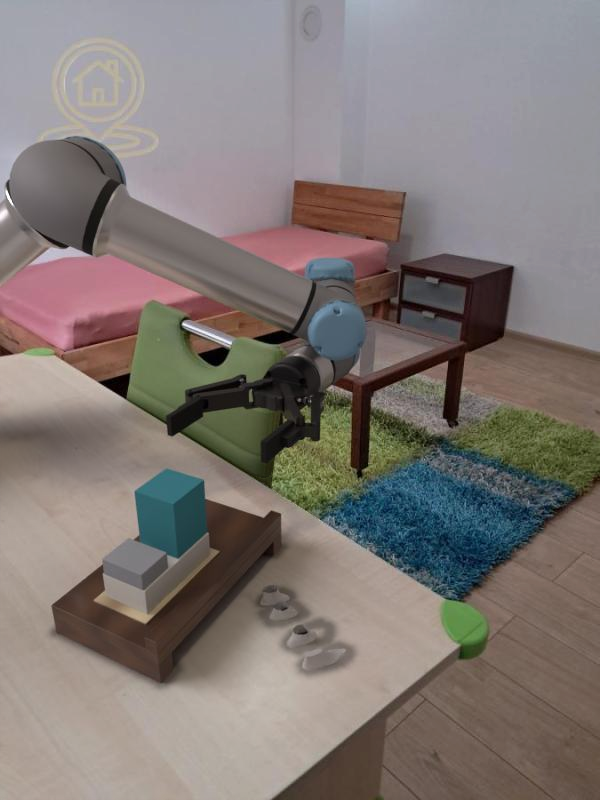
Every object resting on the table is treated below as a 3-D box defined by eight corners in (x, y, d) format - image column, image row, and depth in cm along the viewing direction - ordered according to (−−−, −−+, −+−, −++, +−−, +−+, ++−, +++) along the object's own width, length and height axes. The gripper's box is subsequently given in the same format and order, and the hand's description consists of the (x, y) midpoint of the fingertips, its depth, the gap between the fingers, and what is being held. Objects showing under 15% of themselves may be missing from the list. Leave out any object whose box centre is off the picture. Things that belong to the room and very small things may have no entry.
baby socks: (254, 607, 72) (253, 588, 71) (295, 591, 74) (296, 573, 73) (306, 683, 62) (306, 663, 61) (352, 662, 65) (353, 643, 64)
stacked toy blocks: (171, 539, 75) (165, 467, 71) (210, 554, 73) (205, 480, 69) (105, 596, 67) (94, 517, 62) (147, 614, 64) (138, 533, 60)
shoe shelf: (57, 637, 67) (48, 593, 65) (192, 521, 87) (189, 484, 84) (161, 689, 62) (156, 643, 59) (281, 552, 81) (281, 513, 78)
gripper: (376, 420, 89) (307, 493, 72) (227, 386, 99) (136, 442, 82) (379, 371, 86) (308, 434, 69) (226, 341, 96) (130, 389, 79)
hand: (214, 439), depth 75 cm, fingers open, 13 cm apart
